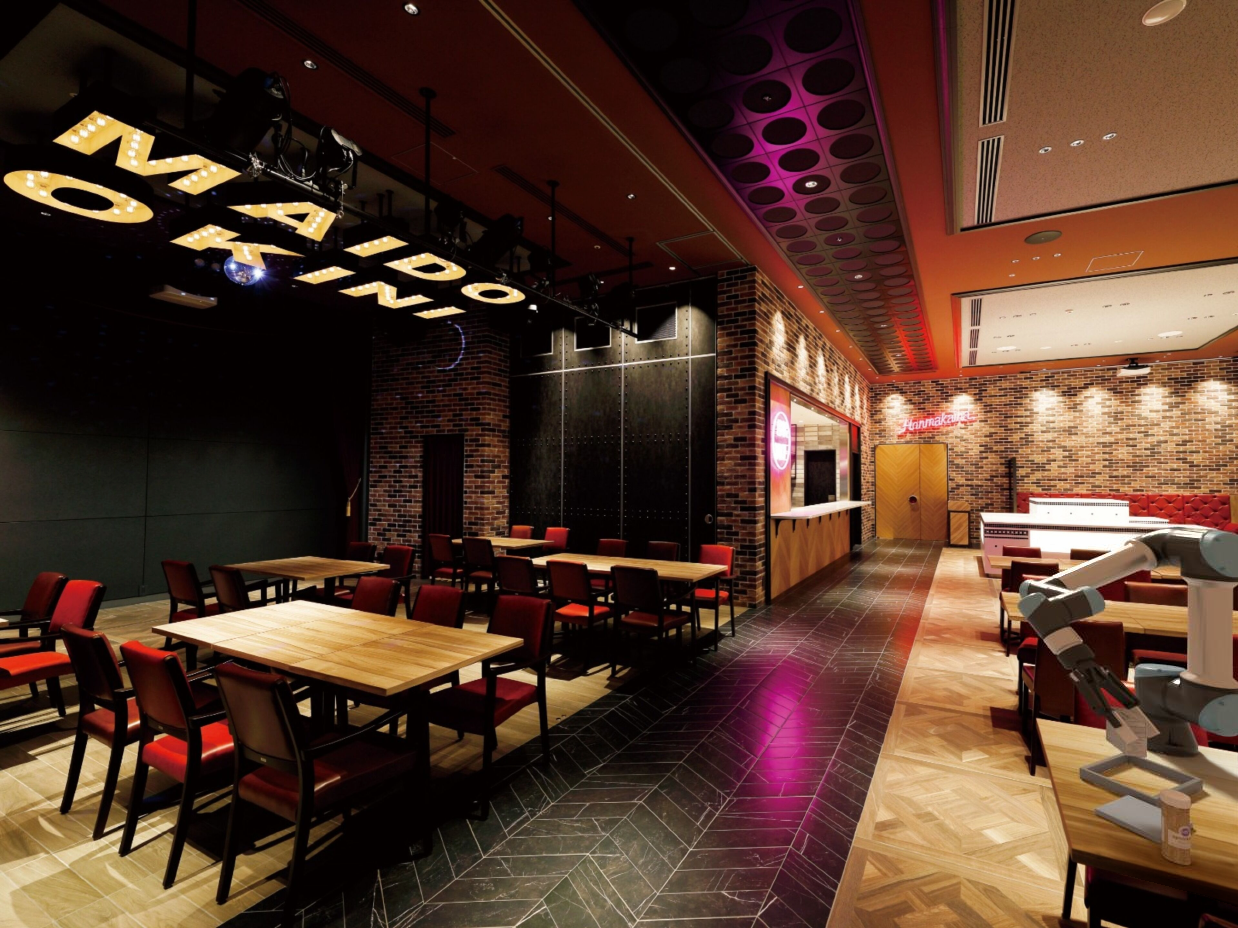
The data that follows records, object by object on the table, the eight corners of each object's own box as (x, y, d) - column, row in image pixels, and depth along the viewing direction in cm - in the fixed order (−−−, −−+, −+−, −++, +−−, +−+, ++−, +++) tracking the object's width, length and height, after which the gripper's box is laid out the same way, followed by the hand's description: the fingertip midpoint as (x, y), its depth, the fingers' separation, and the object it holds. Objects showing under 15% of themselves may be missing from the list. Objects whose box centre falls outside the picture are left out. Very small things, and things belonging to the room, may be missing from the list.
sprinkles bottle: (1181, 867, 116) (1180, 801, 116) (1155, 853, 120) (1154, 789, 121) (1197, 864, 117) (1196, 797, 117) (1171, 849, 122) (1170, 786, 122)
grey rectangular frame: (1126, 760, 160) (1126, 751, 160) (1202, 789, 145) (1202, 779, 145) (1079, 777, 151) (1079, 767, 151) (1156, 809, 136) (1155, 799, 136)
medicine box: (1147, 758, 134) (1148, 721, 134) (1125, 755, 135) (1126, 719, 135) (1126, 742, 141) (1126, 707, 141) (1105, 740, 142) (1105, 705, 142)
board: (1128, 799, 140) (1128, 794, 140) (1192, 827, 129) (1192, 822, 129) (1095, 813, 135) (1094, 808, 135) (1159, 843, 124) (1159, 837, 124)
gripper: (1083, 652, 156) (1155, 737, 141) (1032, 660, 148) (1103, 751, 133) (1106, 638, 151) (1183, 725, 136) (1055, 645, 143) (1131, 739, 128)
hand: (1143, 738), depth 135 cm, fingers closed on medicine box, 8 cm apart
